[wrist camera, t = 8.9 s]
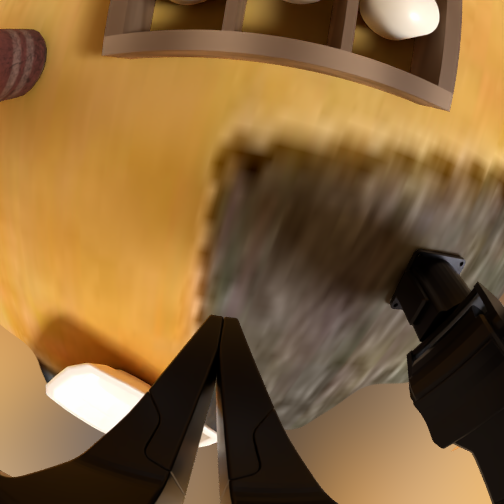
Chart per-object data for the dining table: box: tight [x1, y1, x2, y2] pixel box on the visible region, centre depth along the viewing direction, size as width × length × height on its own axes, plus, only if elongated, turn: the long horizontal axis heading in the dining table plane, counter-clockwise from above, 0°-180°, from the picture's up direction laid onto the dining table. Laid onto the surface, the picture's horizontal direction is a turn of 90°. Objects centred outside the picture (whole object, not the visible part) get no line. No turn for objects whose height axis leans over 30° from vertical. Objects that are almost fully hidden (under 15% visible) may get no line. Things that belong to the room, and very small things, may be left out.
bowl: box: [46, 363, 217, 447], centre depth 34 cm, size 22×23×6 cm
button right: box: [359, 0, 439, 41], centre depth 10 cm, size 4×4×3 cm
